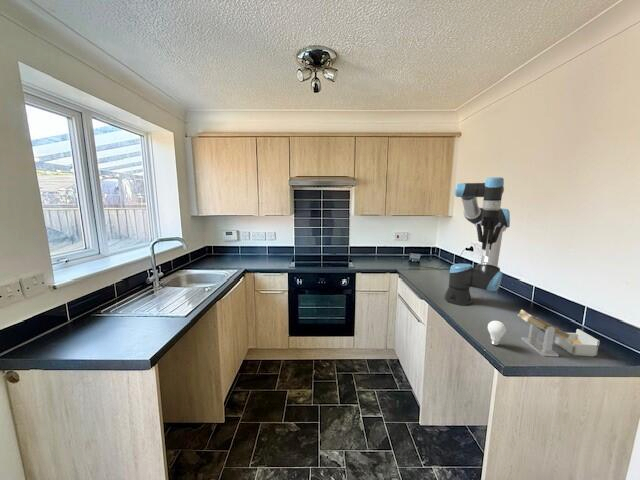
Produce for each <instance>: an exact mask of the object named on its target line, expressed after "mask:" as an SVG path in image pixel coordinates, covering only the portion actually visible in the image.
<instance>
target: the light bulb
mask: <svg viewBox="0 0 640 480" xmlns="http://www.w3.org/2000/svg"><path fill="white" fill-rule="evenodd" d="M487 331H488V332H489V334H490V339H491V340H490V344H492V345H493V346H498V345H499V344H500V341H501V338H503V336H504V335H505V334H506V332H507V328H506V326H505V324H504V323H503V322H501V321H499V320H492V321H490V322H488V324H487Z"/></svg>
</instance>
